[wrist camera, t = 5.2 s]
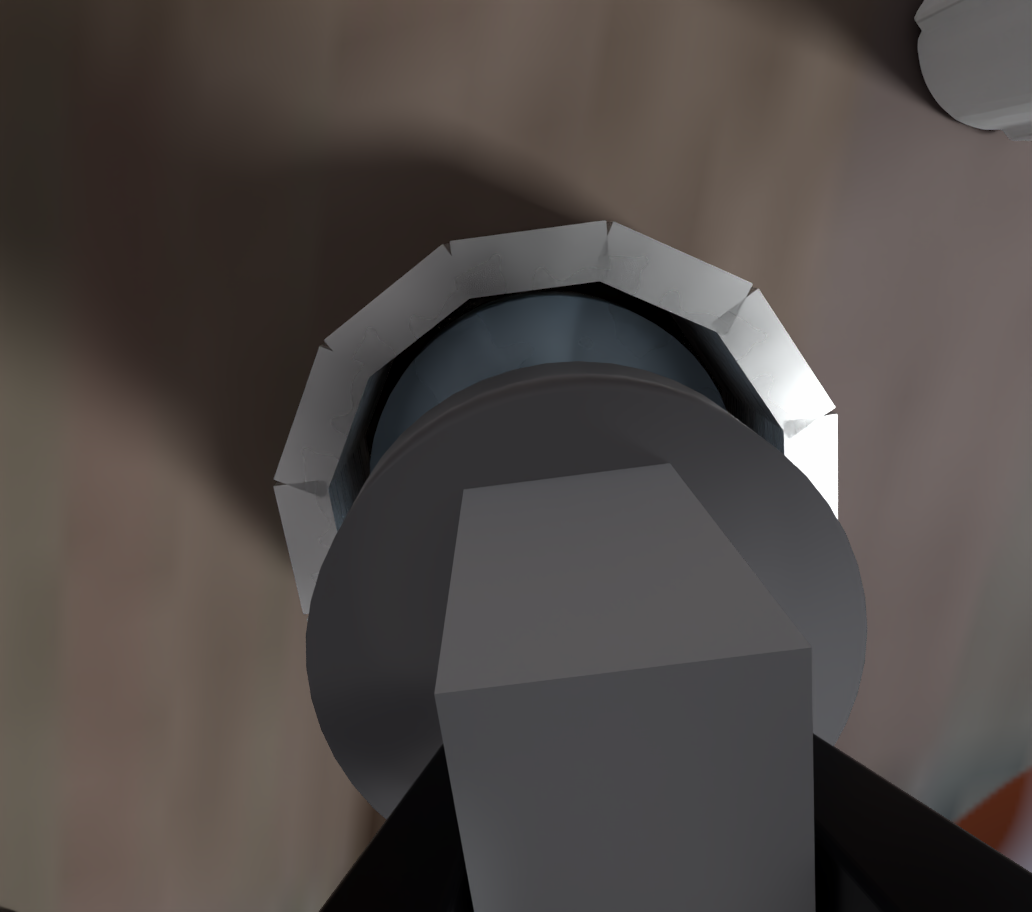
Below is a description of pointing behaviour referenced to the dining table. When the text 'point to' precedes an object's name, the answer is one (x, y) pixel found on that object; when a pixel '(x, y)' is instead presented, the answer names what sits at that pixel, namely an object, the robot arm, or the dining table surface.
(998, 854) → the robot arm
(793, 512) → the grey knob
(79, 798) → the dining table surface
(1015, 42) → the photo printer
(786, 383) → the faceted white dish
